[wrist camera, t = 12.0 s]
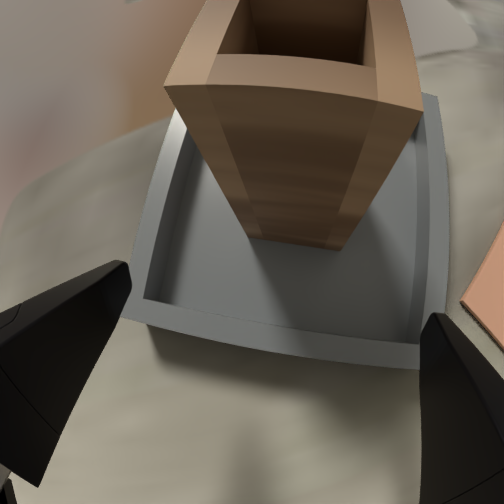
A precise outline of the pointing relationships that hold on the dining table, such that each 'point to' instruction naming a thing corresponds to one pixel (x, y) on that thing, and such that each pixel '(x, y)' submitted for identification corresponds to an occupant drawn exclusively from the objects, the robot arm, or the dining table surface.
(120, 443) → the dining table surface
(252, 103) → the sleeve
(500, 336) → the pink square mat
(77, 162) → the dining table surface
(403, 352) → the tray
